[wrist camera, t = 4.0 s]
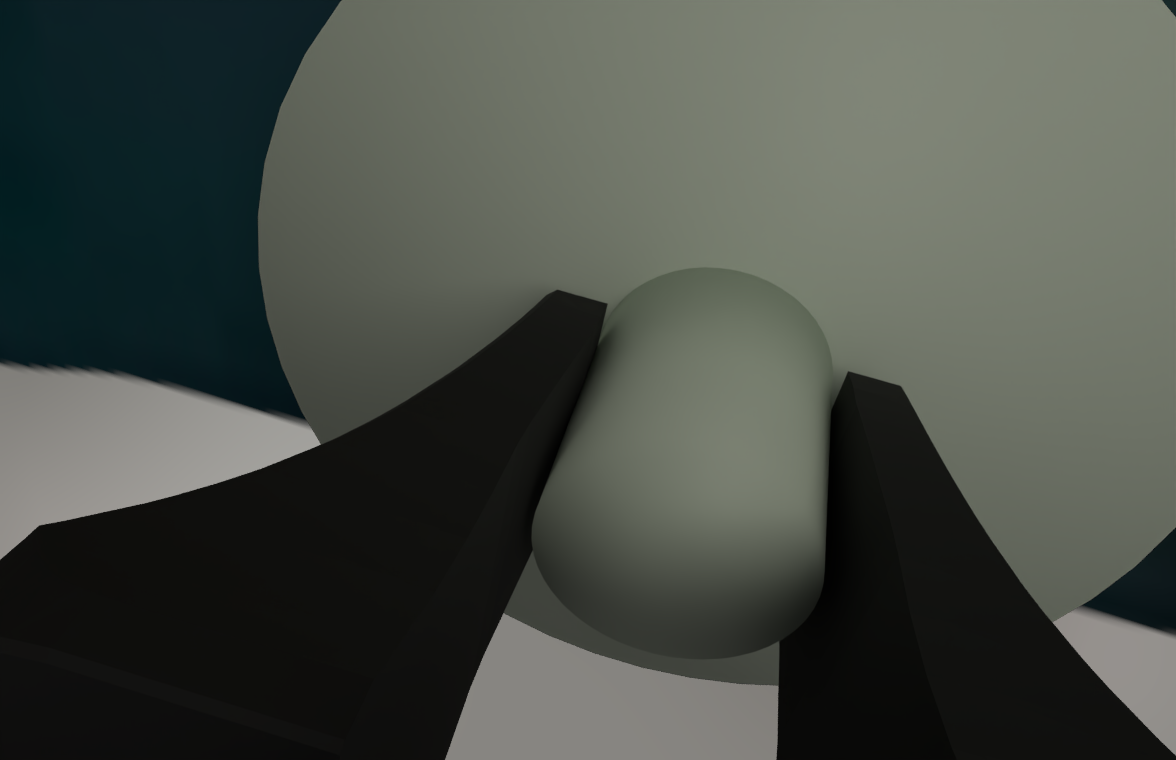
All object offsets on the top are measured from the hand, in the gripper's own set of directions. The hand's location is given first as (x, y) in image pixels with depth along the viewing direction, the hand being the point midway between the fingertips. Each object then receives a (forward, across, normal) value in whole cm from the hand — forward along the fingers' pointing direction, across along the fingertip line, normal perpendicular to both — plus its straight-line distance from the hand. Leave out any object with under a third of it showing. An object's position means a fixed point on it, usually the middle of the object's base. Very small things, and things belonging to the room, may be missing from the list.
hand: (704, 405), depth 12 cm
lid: (+1, 0, 0) cm, 1 cm away
